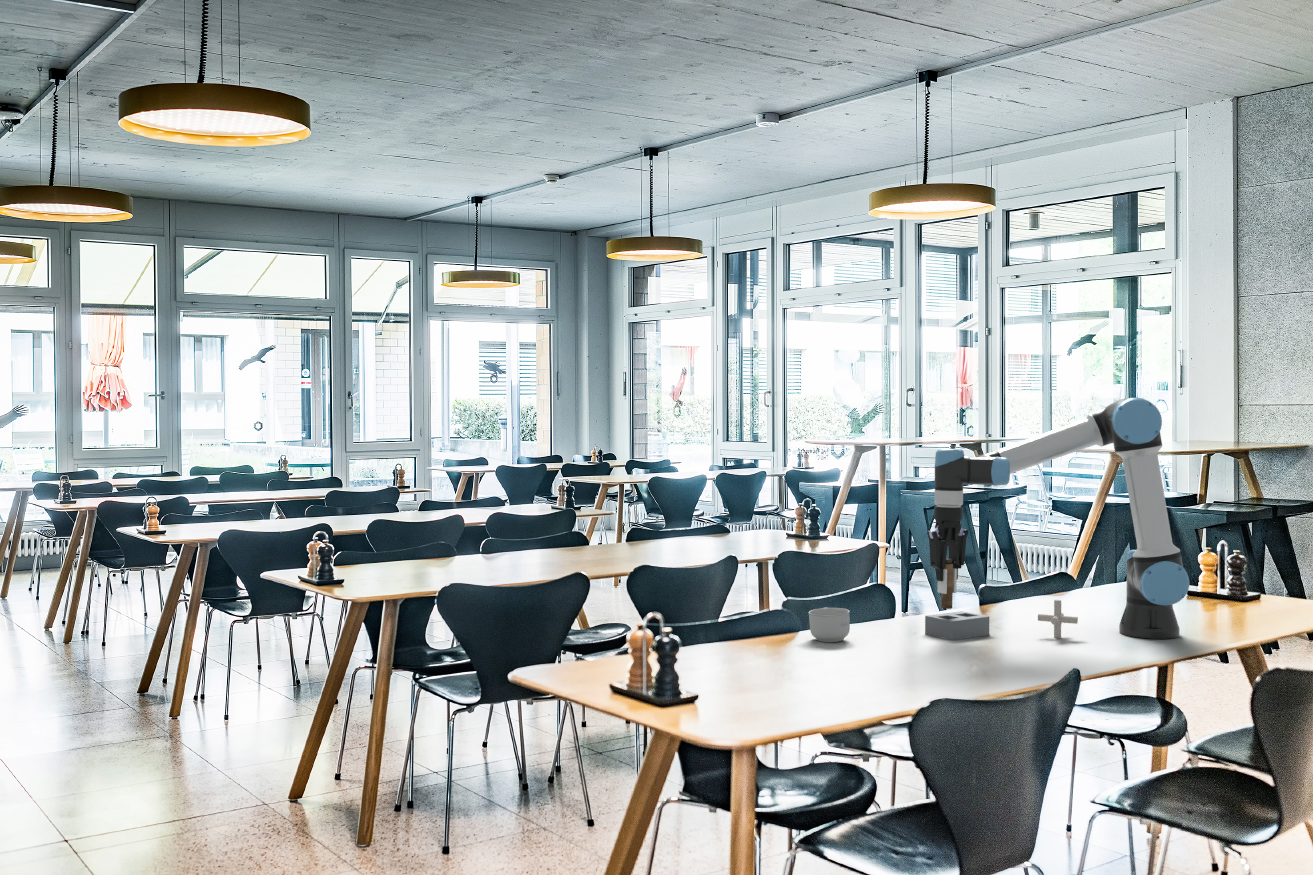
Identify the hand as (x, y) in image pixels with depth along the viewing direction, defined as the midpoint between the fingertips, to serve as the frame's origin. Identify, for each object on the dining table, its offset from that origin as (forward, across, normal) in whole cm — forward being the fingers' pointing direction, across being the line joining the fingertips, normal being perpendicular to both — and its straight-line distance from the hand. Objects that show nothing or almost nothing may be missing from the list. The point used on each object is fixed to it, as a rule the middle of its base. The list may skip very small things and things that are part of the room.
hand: (946, 592), depth 316 cm
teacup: (+12, +30, -13) cm, 35 cm away
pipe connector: (+12, -24, +17) cm, 32 cm away
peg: (+4, 0, 0) cm, 4 cm away
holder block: (+12, -4, 0) cm, 12 cm away
